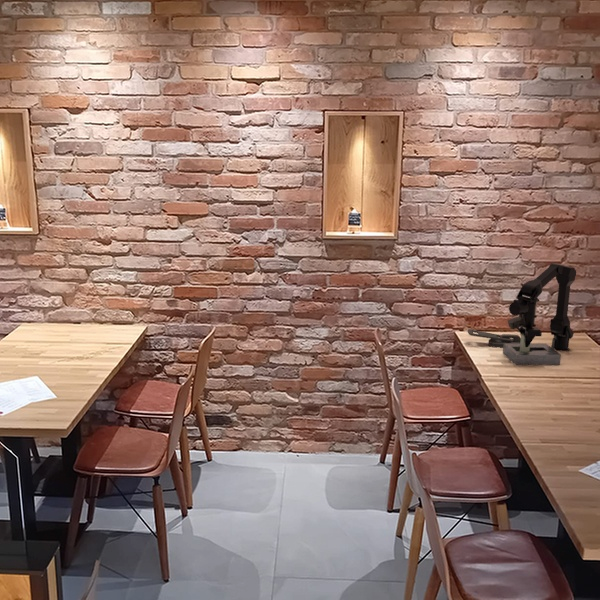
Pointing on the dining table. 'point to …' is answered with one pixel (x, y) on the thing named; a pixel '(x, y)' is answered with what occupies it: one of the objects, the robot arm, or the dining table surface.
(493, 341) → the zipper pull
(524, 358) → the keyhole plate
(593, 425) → the dining table surface
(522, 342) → the headed peg
